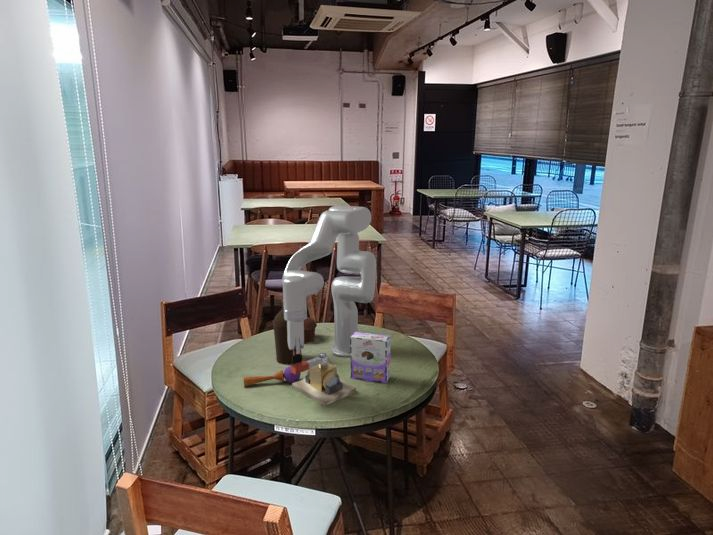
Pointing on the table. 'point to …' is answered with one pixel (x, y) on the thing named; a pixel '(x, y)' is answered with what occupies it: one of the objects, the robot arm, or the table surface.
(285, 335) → the olive oil
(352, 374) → the candy box
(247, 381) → the kendama
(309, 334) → the muffin
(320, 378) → the pipe and valve body
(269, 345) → the table surface
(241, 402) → the table surface
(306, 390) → the mounting board
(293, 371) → the lever
